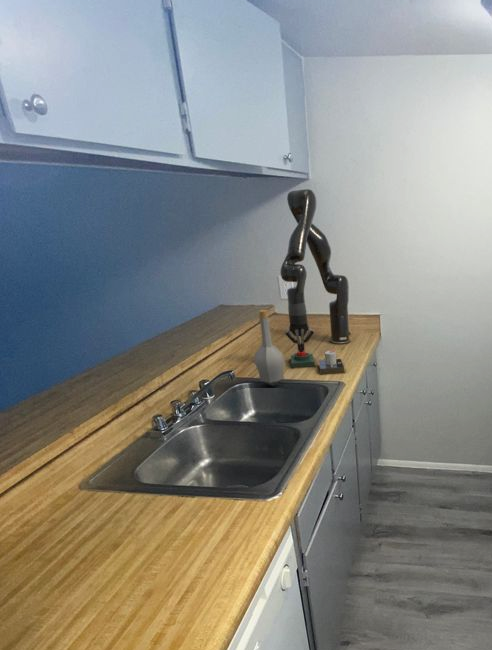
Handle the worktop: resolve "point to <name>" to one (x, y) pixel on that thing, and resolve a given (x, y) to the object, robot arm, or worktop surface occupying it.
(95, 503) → the worktop surface
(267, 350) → the bottle
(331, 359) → the dial
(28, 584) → the worktop surface
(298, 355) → the nozzle button
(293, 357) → the dark green button base
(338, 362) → the dial panel
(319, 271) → the robot arm
